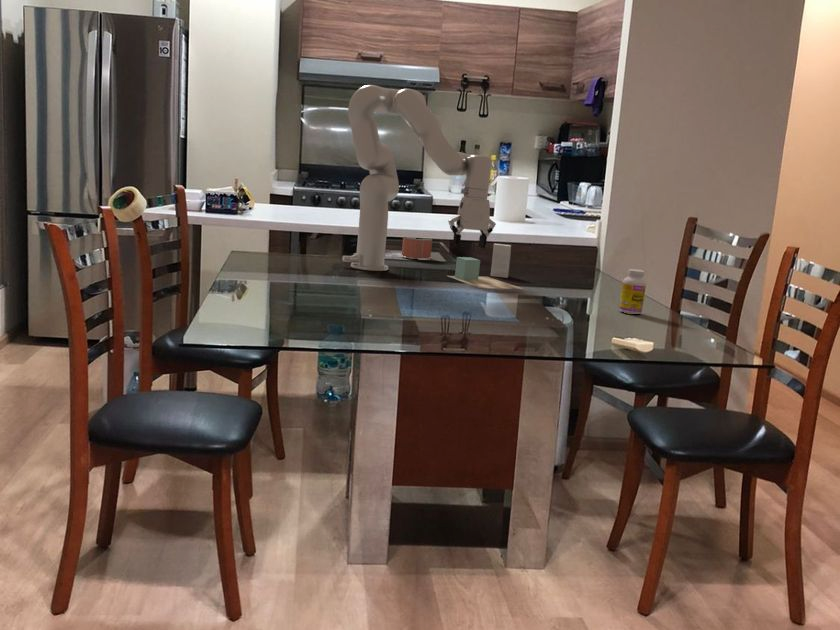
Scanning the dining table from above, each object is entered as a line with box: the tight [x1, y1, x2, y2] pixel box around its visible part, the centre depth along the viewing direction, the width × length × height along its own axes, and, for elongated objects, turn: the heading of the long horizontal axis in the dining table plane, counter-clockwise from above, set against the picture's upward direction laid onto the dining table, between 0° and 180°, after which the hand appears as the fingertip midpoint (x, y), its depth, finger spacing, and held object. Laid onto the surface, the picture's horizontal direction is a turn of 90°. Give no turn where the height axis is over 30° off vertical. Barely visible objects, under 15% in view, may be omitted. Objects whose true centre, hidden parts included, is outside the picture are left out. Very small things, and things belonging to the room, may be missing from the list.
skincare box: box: [490, 243, 512, 278], centre depth 301 cm, size 6×4×12 cm
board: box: [447, 275, 524, 290], centre depth 284 cm, size 16×22×1 cm
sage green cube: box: [454, 256, 481, 280], centre depth 287 cm, size 6×6×7 cm
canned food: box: [401, 238, 433, 258], centre depth 335 cm, size 11×11×12 cm
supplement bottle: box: [618, 268, 647, 315], centre depth 258 cm, size 7×7×13 cm
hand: (469, 247), depth 286 cm, fingers open, 9 cm apart
